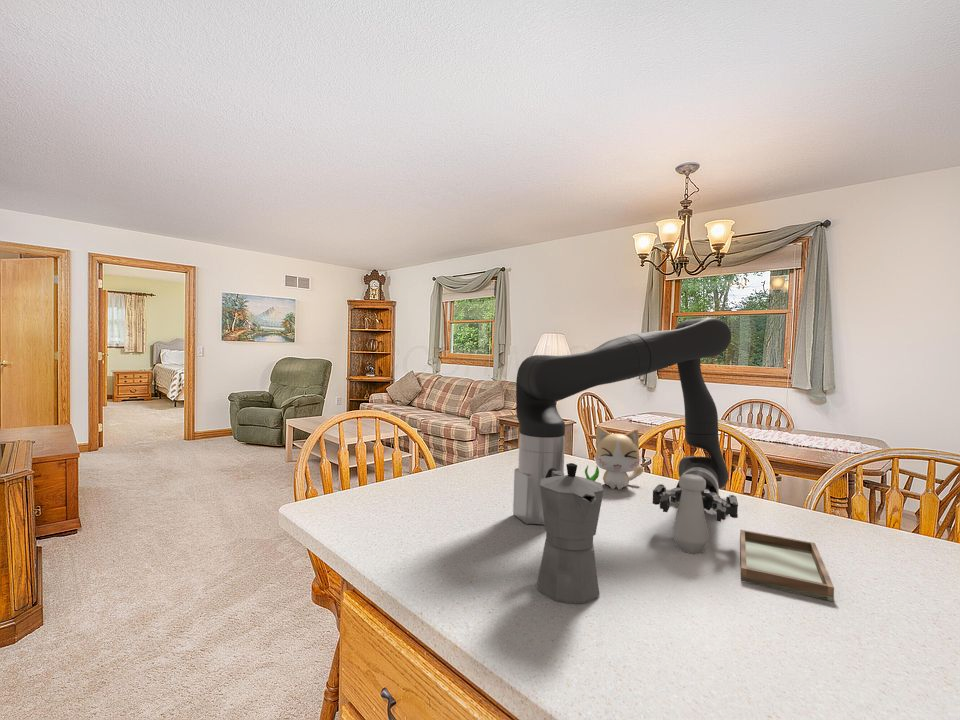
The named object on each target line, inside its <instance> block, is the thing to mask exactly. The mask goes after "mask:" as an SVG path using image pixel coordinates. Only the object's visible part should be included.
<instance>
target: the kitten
mask: <svg viewBox="0 0 960 720" xmlns="http://www.w3.org/2000/svg"><path fill="white" fill-rule="evenodd" d="M639 433H640V432H639V430H638V429H637V428H635V429H633V430H631V431H629V432H627V433H624V434H622V433H610V432H608V431H607V430H605V429H604V428H603V427H601V426H597V427H596V432H595V434H596V435H595V456H594V459H595V464H596V468H595V471H594V473H593V475H592V476H591V477H590V475H589V473H588V469H589V465H587V466H586V468H585V470H584V474H585V477H586V479H589V480H592V481H596V480H597V479H598V478H599V475H600V469H602V470H605V472H604V473H603V476H602V480H603V483H604V484H605V486H606V485H607V486H609V487H610V488H611V489H612V490H614V489H616V488H617V489H618V490H619V491H620V490H622V489H623V488H625V487H627V486H628V485H629V483H630V481H633V480H635V479H636V478H637V477H638V476H640V475H642V474H643V473H644V467H643V466H642V465H641V464H640V459H641V458H640V452H639V447H640V442H639V437H640V436H639ZM599 468H600V469H599ZM630 472H632V473H630ZM628 473H630V474H628Z"/></svg>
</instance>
